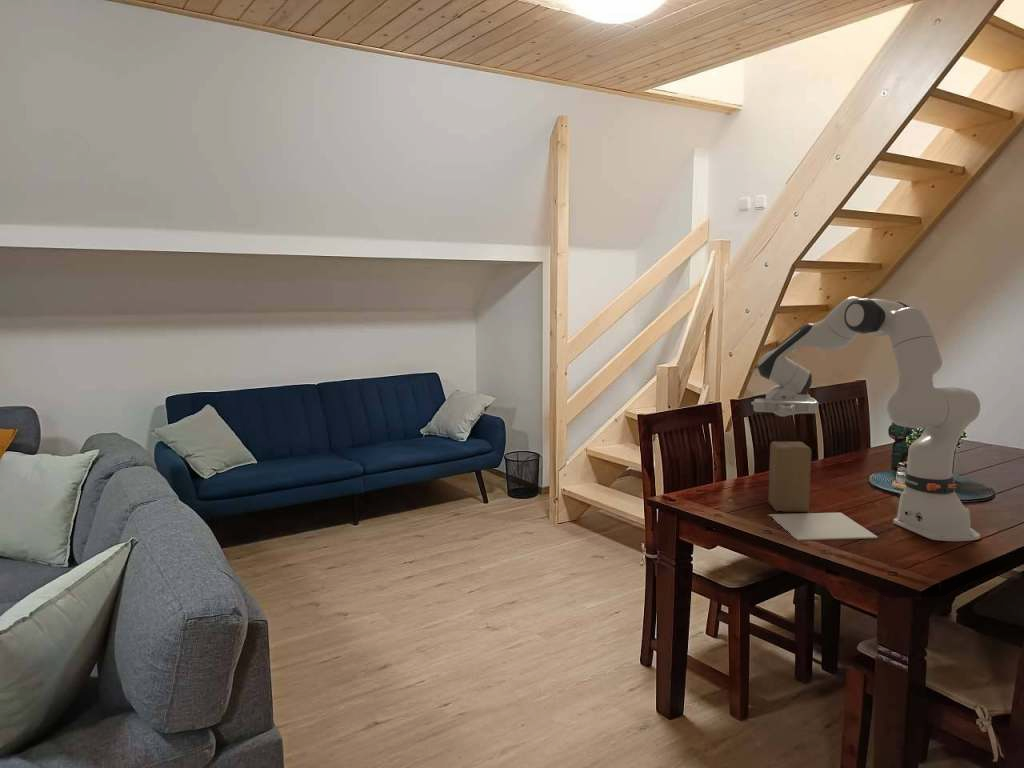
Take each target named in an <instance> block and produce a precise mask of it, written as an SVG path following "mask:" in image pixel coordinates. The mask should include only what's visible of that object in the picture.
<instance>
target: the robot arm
mask: <svg viewBox="0 0 1024 768" xmlns="http://www.w3.org/2000/svg"><path fill="white" fill-rule="evenodd" d="M859 334H862V335H863V334H865V335H872V336H876V337H889V339H890V343H891V347H892V350H893V353H894V357H895V361H896V365H897V369H898V374H899V375H898V385H897V389H896V390H895V392H894V393H893V394H892V395H891V397H889V400H888V401H887V402H888V403H887V411H886V412H887V414H888V418H889V419H890V421H892V422H893V423H895V424H896V425H898V426H903V427H909V428H914V429H921V428H925V429H923V430H924V431H923V433H922V434H921V436H920V437H919V438H918V439H916V440H915V441H914V442H912V443H911V445H910V447H909V451H908V456H907V468H906V469H907V471H906V472H905V473H904V475H905V476H904V486H905V488H904V490H903V491H902V493H901V494H900V495H899V496H900V497H899V502H898V508H897V514H896V517H894V518H893V520H892V523H893V524H895V525H897V526H899V527H902V528H904V529H906V530H908V531H910V532H914V533H916V534H918V535H920V536H922V537H925V538H926V539H930V540H933V541H943V542H969V541H976V540H979V539H981V534H980V533H979V532H977V531H976V530H974V528H972V527H971V511H970V509H969V508H966V507H965V505H964V504H963V503H962V500H960V498H959V497H958V495H957V493H956V489H957V488H958V487H957V486H958V484H957V483H955V480H954V477H953V466H954V465H953V464H954V457H955V451H956V447H957V444H958V442H959V440H960V438H961V437H962V434H963V432H964V431H965V430H966V429H967V427H968V426H969V425H970V424H971V423H973V422H974V421H976V419H977V418H978V417H979V416H980V413H981V412H980V411H981V402H980V399H979V397H978V395H977V394H976V393H975V392H973V390H970V389H967V388H961V387H953V386H952V387H951V386H949V387H935V386H934V383H933V378H934V377H933V376H934V375H935V374H937V373H938V372H939V371H940V369H941V368H942V366H943V359H942V356H941V353H940V350H939V347H938V344H937V343H938V342H937V340H936V338H935V335H934V332H933V330H932V327H931V324H930V323H929V321H928V319H927V317H926V316H925V314H924V312H923V311H922V310H921V309H919V308H918V307H912V306H910V305H908V304H905V303H903V302H901V301H892V300H887V299H885V298H884V299H883V298H868V297H865V298H862V297H859V296H848V297H847V298H845V299H844V300H842V301H841V302H840V303H838V304H837V305H836V306H835V307H834V308H833V309H831V311H830V312H829V313H828V314H827V315H826V316H825V317H824V318H823V319H821V320H819V321H817V322H814V323H809V322H808V323H806V324H803V325H802V326H800V327H799V328H798V329H797V330H795V331H793V333H792V334H790V335H788V337H786V338H785V339H784V340H782V342H780V343H779V344H778V345H776V346H775V347H774V348H772V349H771V350H769V351H767V352H766V353H765V354H764V355H763V356H762V357H761V358H760V359H759V361H758V363H757V370H758V373H759V375H760V377H762V378H765V379H766V380H769V381H771V382H773V383H775V385H772V386H771V387H769V388H768V389H767V391H766V393H765V398H762V397H761V398H755V399H754V400H753V401H751V403H750V404H751V405H752V406H753V411H754V412H756V413H773V414H775V415H776V416H778V417H787V416H792V415H800V414H801V415H802V414H818V412H819V402H818V401H817V400H816V399H815V397H811V395H810V394H808V391H809V390H810V388H811V386H812V383H813V377H812V373H811V371H810V370H809V369H808V368H805V367H804V366H802V365H800V364H799V363H797V362H796V361H793V360H792V359H790V358H788V357H787V356H788V355H790V353H792V352H794V350H796V349H797V348H799V347H801V346H802V347H803V346H804V347H805V346H807V347H808V346H809V347H812V348H813V347H814V348H819V349H822V350H826V351H838V350H842V349H843V348H846V347H847V346H848V345H849V344H850V343H851V342H852V341H853V340H854V339H855V338H856V337H857V336H858V335H859ZM892 422H891V423H892Z"/></svg>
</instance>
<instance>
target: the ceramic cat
mask: <svg viewBox="0 0 1024 768" xmlns="http://www.w3.org/2000/svg"><path fill="white" fill-rule="evenodd" d="M912 429H913V428H909V427H903V426H898V425H896V424H895V423H893V422H891V424H890V426H889V427H888V431H887V433H888V436H889V438H890V439H893V440H894V442H893V444H892V453H891V454H890V455H891V467H890V468H891V469H896V468H897V465H898V463H899V462H904V461H905V462H906V459H908V447H907V444H906V442H905V441H906V436H907V435H909V434H912V433H913V431H912ZM913 430H914V429H913Z"/></svg>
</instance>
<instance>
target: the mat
mask: <svg viewBox="0 0 1024 768" xmlns="http://www.w3.org/2000/svg"><path fill="white" fill-rule="evenodd" d="M768 515H769V516H773V517H772V518H773V519H774V520H775V521H776V522H777V523H778V524H780V525H781V526H782V527H783V528H784V529H785V531H786V530H787V531H788V532H789V533H790V534H791V536H792V538H794V539H795V540H796V539H797V540H796V541H820V540H821V541H822V540H823V541H824V540H825V541H826V540H857V539H858V540H860V539H862V540H863V539H878V537H879V536H877V535H876V534H874V533H873V532H871V531H870V530H868V529H867V528H865V527H863V526H862V525H860V524H859V523H857V522H856V521H855V520H853V519H852V518H850V517H848V516H847V515H845V514H844V513H842V512H810V513H809V512H801V513H771V514H767V516H768ZM769 516H768V517H769ZM774 520H773V521H774ZM775 521H774V522H775ZM776 522H775V523H776ZM777 523H776V524H777ZM780 525H779V526H780ZM781 526H780V527H781ZM782 527H781V528H782ZM783 528H782V529H783ZM784 529H783V530H784ZM787 531H786V532H787ZM788 532H787V533H788ZM789 533H788V534H789ZM790 534H789V535H790Z"/></svg>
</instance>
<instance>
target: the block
mask: <svg viewBox="0 0 1024 768" xmlns="http://www.w3.org/2000/svg"><path fill="white" fill-rule="evenodd" d="M769 444H770V445H769V468H768V469H769V472H768V473H769V474H768V497H767V499H768V504H770V506H771V505H772V506H771V507H772V509H774V510H775V511H776V512H778V511H782V512H783V513H784V512H785V513H809V509H810V491H811V470H812V469H811V468H812V467H811V466H812V449H811V447H809V446H808V445H807V444H805V443H804V442H802V441H783V440H782V441H781V440H780V441H777V440H776V441H774V440H773V441H771V442H770V443H769ZM782 512H781V513H782Z"/></svg>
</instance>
